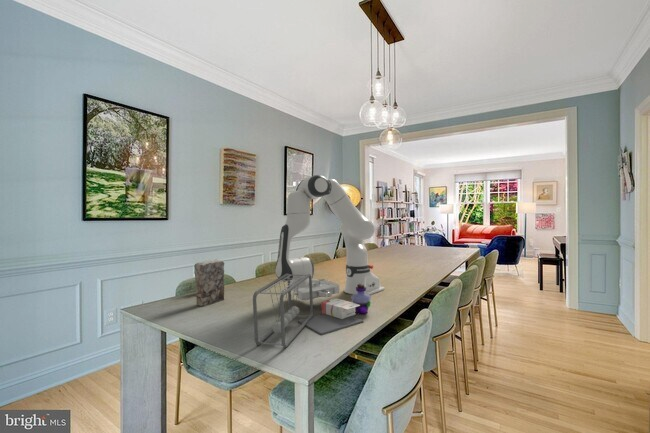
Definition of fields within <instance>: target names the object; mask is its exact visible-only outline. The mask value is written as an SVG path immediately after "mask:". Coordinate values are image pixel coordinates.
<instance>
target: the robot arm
mask: <svg viewBox="0 0 650 433" xmlns="http://www.w3.org/2000/svg"><path fill="white" fill-rule="evenodd" d="M318 198H323V199H324V200H325V202H326V203H327V205H328V206H329V208H330V209H331V211H332V213H333V214H334V216H335V217H336V218H337V219H339V221H340V222H341V223H340V225H339V230H340V231H339V232H340V233H341V234H342V237H343V241H344V245H345V252H346V254H345V255H346V264H345V274H346V276H345V278H346V280H345V283H344V284H345V286H344V288H343V289H344V290H343V292H344V293H346V294H349V295H354V294H358V291H356V287H358V286H357V285H358V284H364V287H366V291H364V294H368V295H370V296H372V295H373V294H376V293H378V292H382V291H384V290H385V286H383V285H381V282H380V279H379V277H378V276H376V274H374V273H373V272H372V271H371V270H373V269H374V268H375V267H374V265H373V264H369V263H368V250H367V247H366V245H365V243H364V240H368V239H370V238H372V237H373V236H374V234H375V225H374V223H373V222H372V221H370V219H368V218H367V217H366V216H365V215H363V213H362V212H361V211H360V210H359V209H358V208H357V207H356V206H355V204H354V203H353V201H352V200H351V198H350V197H349V195H348V194H347V192H346V191H345V189H344V188H343V187H342V186H341V184H340V183H339V182H338V181H337V180H336V179H334V178H329V179H328V178H327V177H325V176H324V175H321V174H315V175H311V176H308V177H306V178H305V179H302V180H300V181H299V183H298V184H297V187H296V189H295V190H293V191H291V192H290V193H289V194H288V196H287V203H286V221H285V224H284V225H283V226H282V227H281V229H280V234H279V241H278V242H279V243H278V253H277V260H276V264H275V271H274V272H275V275H276V277H277V279H278V278H280V277H281V276H283V275H285V274H287V273H288V274H292V275H308V274H310V275H311V277H312V297H313V300H314V299H318V298H329V297H330V298H331V297H332V295H335V294H339V293H340V284H338V283H336V282H332V281H328V279H325V278H324V279H323V278H321V279H316V278H314V274H315V265H314V263H313V261H312V260H311V259H310V258H309V257H308V256H302V257H301V256H300V257H297V258H296V257H294V258H289V257H290V248H291V241H292V239H293V238H294V237H296V236H297V235H299V234H301V233H303V232H304V231H306V229H308V227H309V226H310V225H311V224H310V223H311V214H310V213H311V211H310V203H311V201H312V200H316V199H318ZM292 275H291V276H290V283H293V282H294V281H296V280H297V279H298V278H300V277H302V276H292ZM303 277H305V276H303ZM303 277H302V278H303ZM285 278H286V277H285ZM302 278H301V279H302ZM301 279H299V280H301ZM282 280H283V279H282ZM285 280H287V278H286V279H285ZM299 280H298V281H299ZM298 281H296V282H298ZM283 283H287V281H284V282H283ZM294 284H295V283H293V284H292V285H294ZM290 287H291V286H290ZM297 289H298V291H297ZM291 292H292V295H293V294H294V296H297V299H299V300H301V301H310V292H309V277H308V278H307V279H306V280H304V281H303V282H302V283H300V284H299V285H298V286H296V287H295V290H294V289H292V290H291Z"/></svg>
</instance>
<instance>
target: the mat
mask: <svg viewBox="0 0 650 433" xmlns="http://www.w3.org/2000/svg"><path fill="white" fill-rule="evenodd" d="M307 318H308V317H305V318H302V319H299V320H297V322H298V323H300V324H301V325H302V324H303V322H304V321H305V320H306V319H307ZM364 322H365V321H364V320H363V319H361V318H359V317H356V316H355V315H353V316H350V317H347V318H344V319H339V318H336V317H333V316H330V315H327V314H323V313H321V314H318V315H315V316H314V315H313V316H312V318H311V319H310V320H309V321H308V322H307V324H306V325H305V326H304V327H306V328H308V329H310V330H312V331H313V332H315V333H317V334H319V335H320V336H323V335H326V334H331V333H332V332H336V331H339V330H341V329H342V330H343V329H345V328H346V329H347V328H348V327H351V326H352V327H353V326H355V324H356V325H359V324H362V323H364ZM358 323H359V324H358Z"/></svg>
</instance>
